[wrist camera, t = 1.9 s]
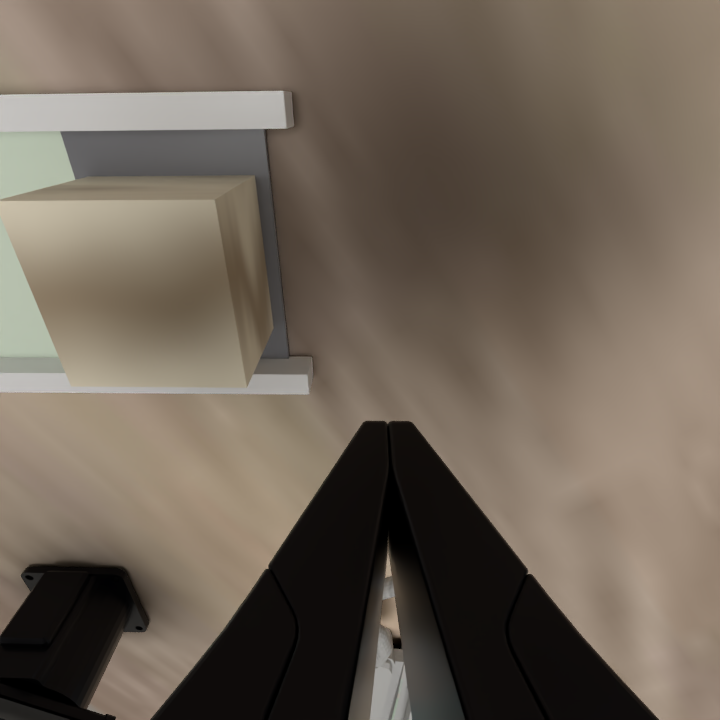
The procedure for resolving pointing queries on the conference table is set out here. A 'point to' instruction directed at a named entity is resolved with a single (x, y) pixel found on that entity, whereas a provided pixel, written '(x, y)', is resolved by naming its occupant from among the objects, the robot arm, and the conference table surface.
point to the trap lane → (135, 158)
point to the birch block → (147, 277)
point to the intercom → (389, 675)
